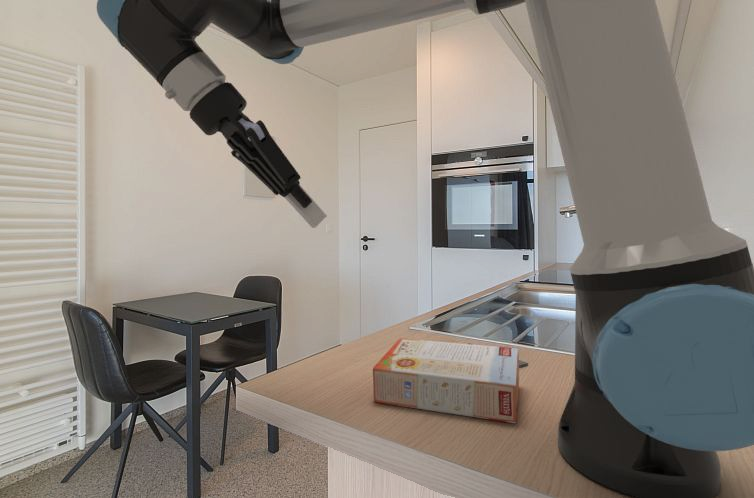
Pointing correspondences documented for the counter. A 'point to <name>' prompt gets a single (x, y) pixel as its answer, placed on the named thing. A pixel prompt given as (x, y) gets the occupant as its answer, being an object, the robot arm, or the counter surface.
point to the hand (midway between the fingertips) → (319, 221)
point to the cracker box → (450, 378)
